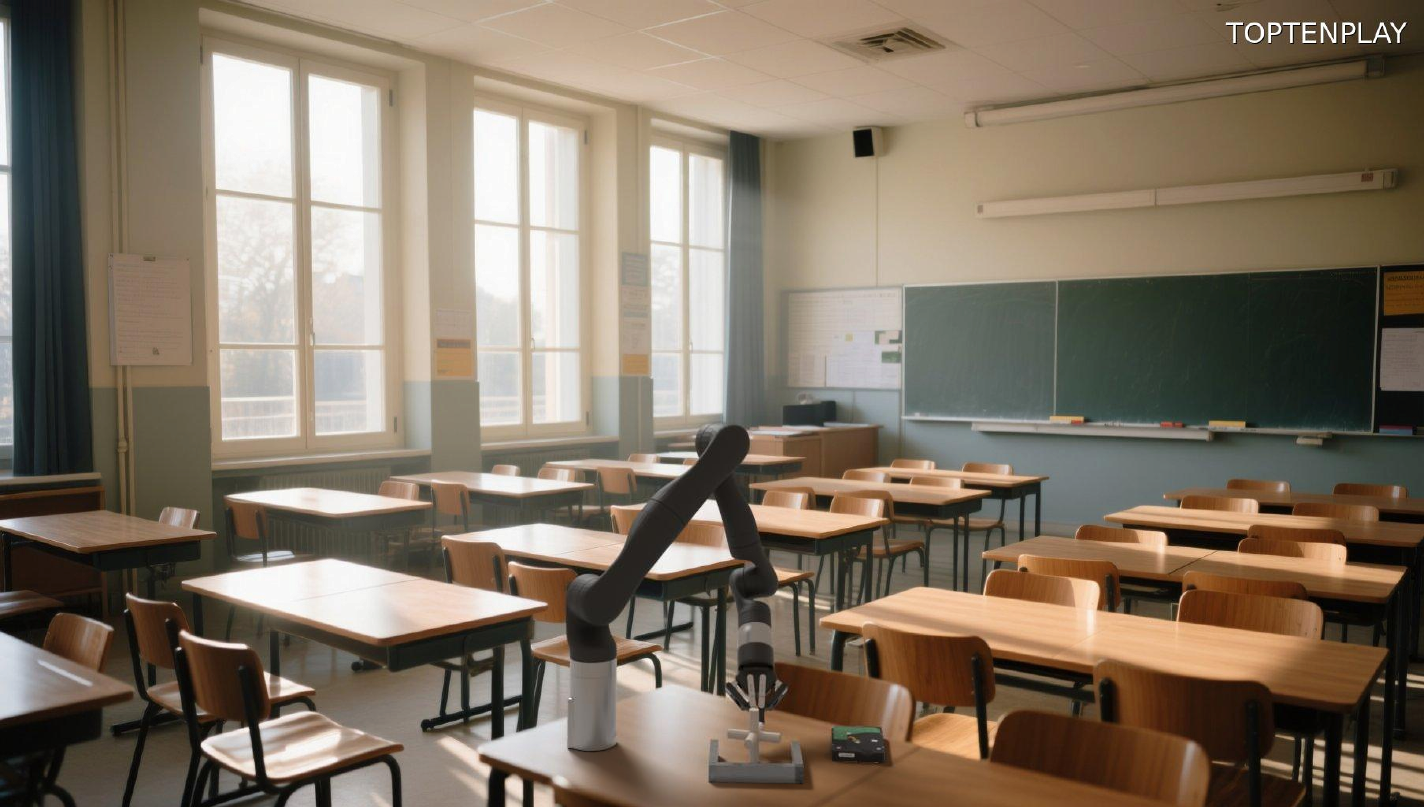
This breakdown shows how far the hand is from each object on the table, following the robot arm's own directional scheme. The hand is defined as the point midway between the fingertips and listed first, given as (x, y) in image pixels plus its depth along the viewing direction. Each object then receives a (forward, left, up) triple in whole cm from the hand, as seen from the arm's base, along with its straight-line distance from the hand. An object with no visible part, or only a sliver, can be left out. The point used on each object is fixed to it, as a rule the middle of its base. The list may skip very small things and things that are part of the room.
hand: (757, 729), depth 197 cm
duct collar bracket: (-1, -9, -4) cm, 10 cm away
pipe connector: (-1, -6, -5) cm, 7 cm away
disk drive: (+20, +3, -5) cm, 21 cm away
